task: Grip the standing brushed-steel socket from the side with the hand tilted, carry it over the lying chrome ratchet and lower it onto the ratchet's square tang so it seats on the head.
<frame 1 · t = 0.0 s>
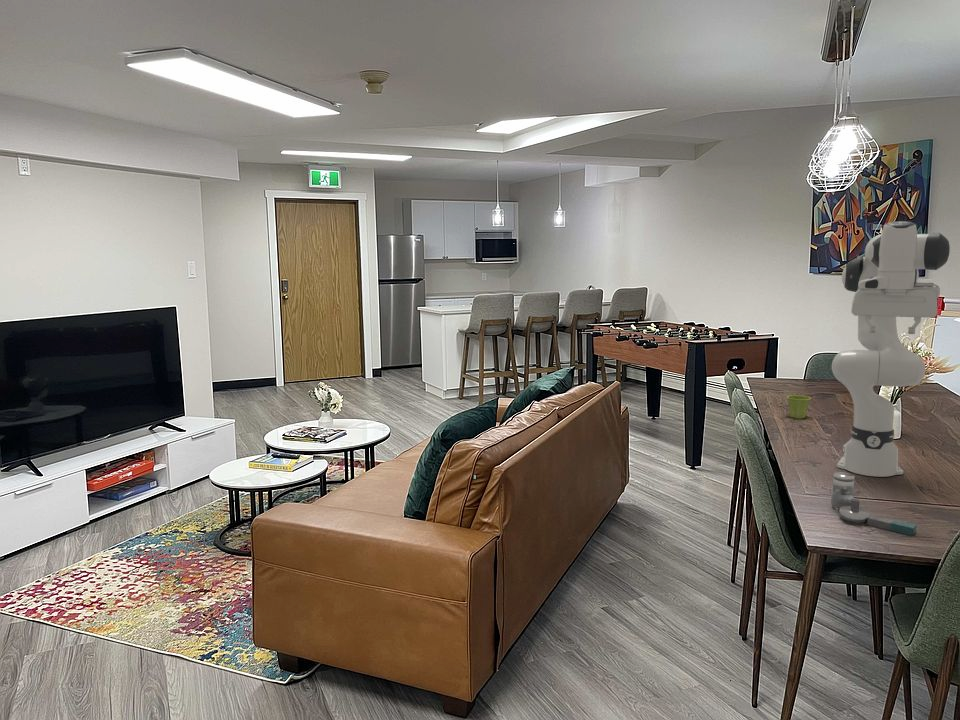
hand: (891, 333, 195), 48 cm above the table, tool pointing down, fingers open, 8 cm apart
ratchet: (854, 519, 189), on the table
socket: (841, 506, 199), on the table
plant pot: (797, 417, 303), on the table
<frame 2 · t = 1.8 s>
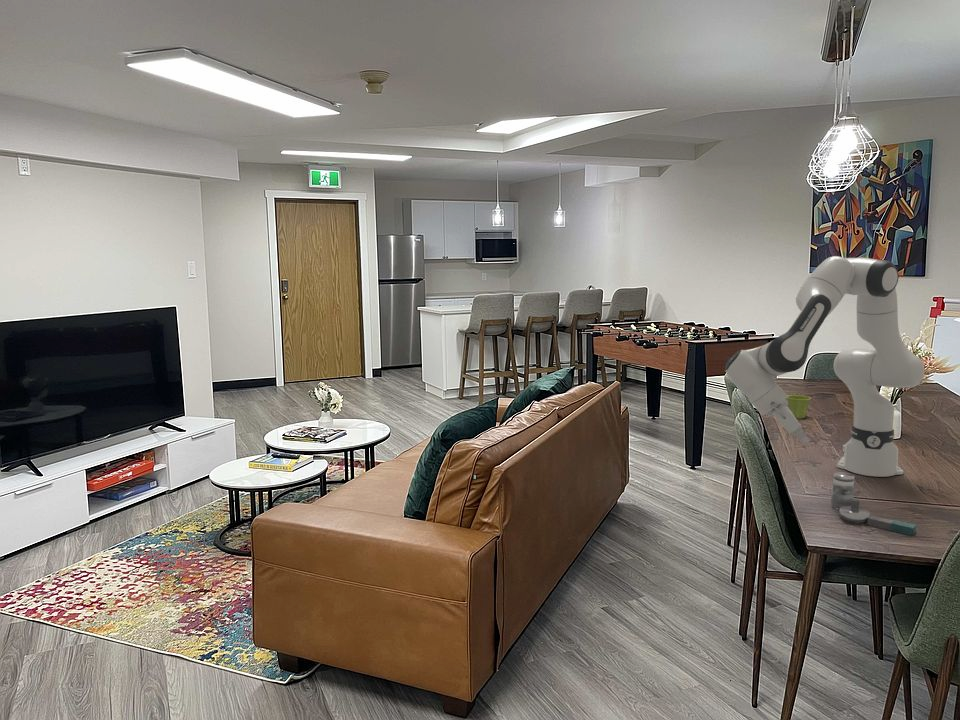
hand: (805, 438, 199), 19 cm above the table, tool tilted 45°, fingers open, 8 cm apart
nothing on the table moved.
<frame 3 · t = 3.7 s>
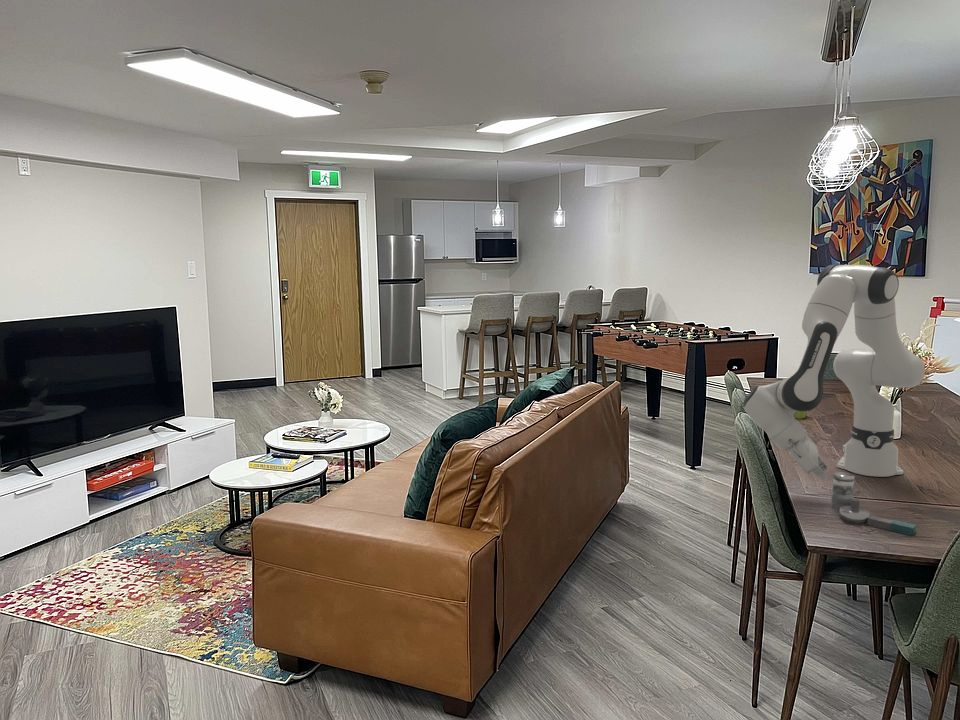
hand: (825, 473, 199), 9 cm above the table, tool tilted 45°, fingers open, 8 cm apart
nothing on the table moved.
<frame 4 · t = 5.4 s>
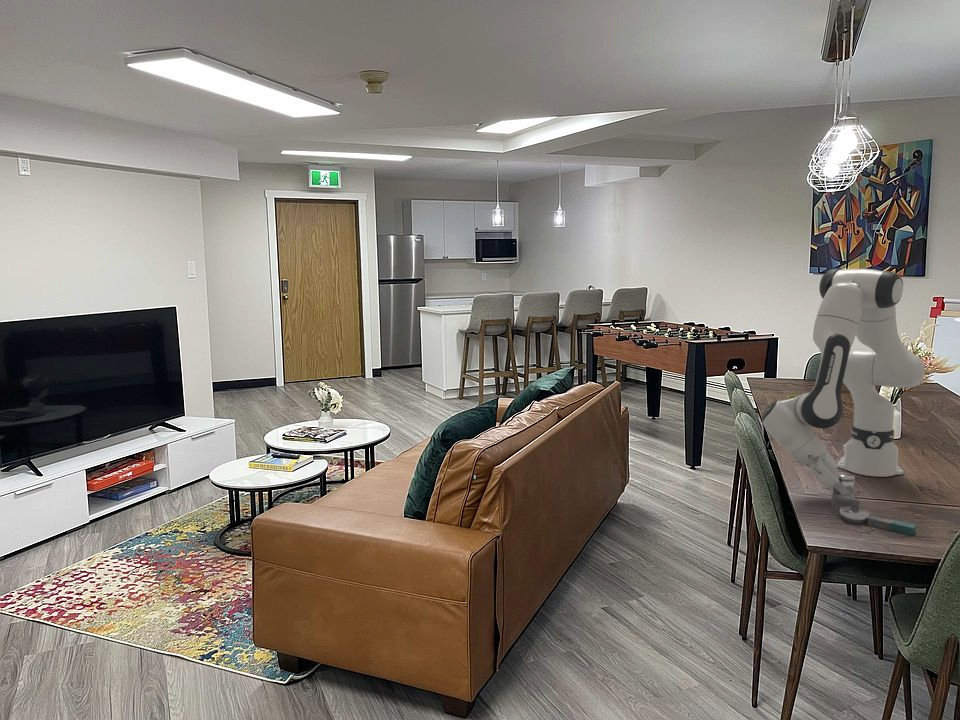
hand: (845, 489, 198), 5 cm above the table, tool tilted 45°, fingers closed on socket, 5 cm apart
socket: (841, 506, 199), on the table, touching gripper
everything else where it was.
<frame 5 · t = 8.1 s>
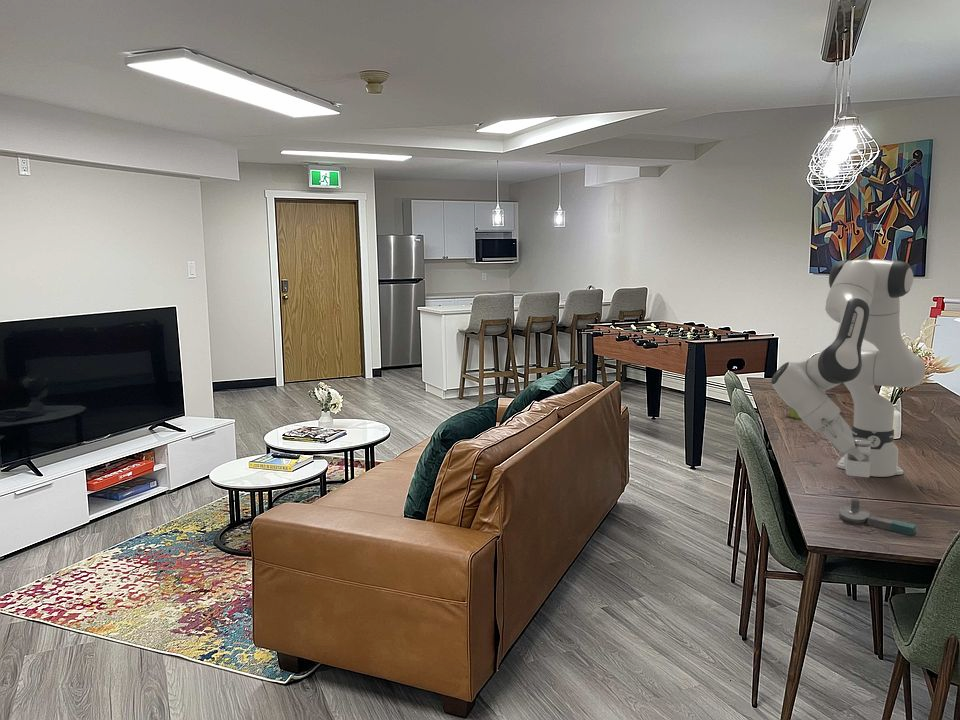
hand: (861, 455, 186), 18 cm above the table, tool tilted 45°, fingers closed on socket, 5 cm apart
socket: (857, 473, 187), point 13 cm above the table, touching gripper
everything else where it was.
when the fingers open (8 cm above the table, at t = 11.2 s): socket stays where it is, resting on ratchet.
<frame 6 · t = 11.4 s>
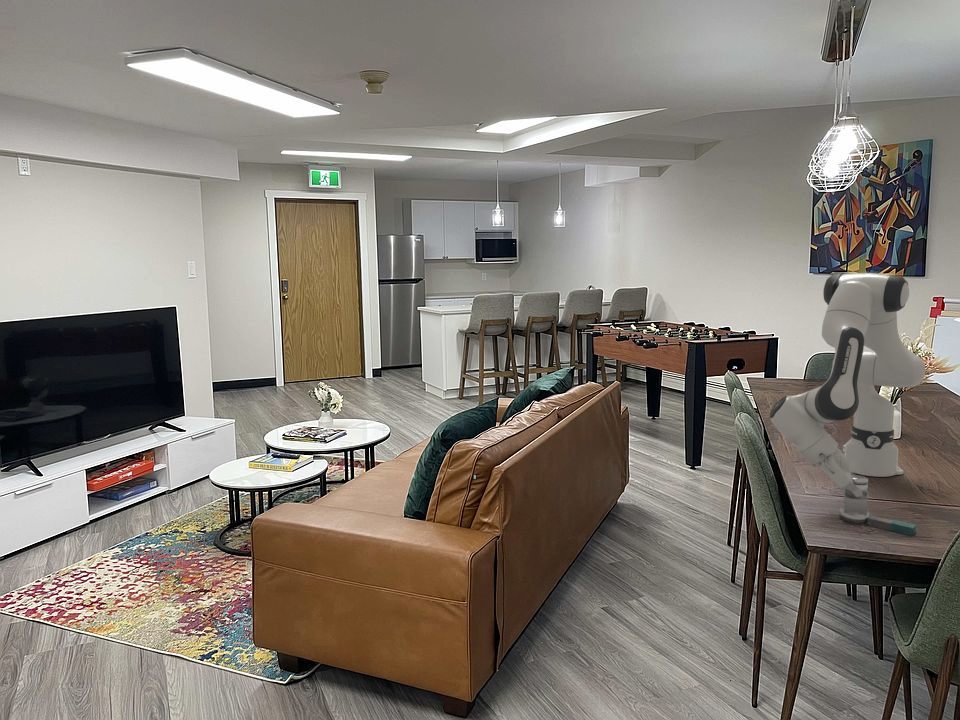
hand: (859, 489, 187), 8 cm above the table, tool tilted 45°, fingers open, 7 cm apart
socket: (854, 510, 188), point 2 cm above the table, touching ratchet
everything else where it was.
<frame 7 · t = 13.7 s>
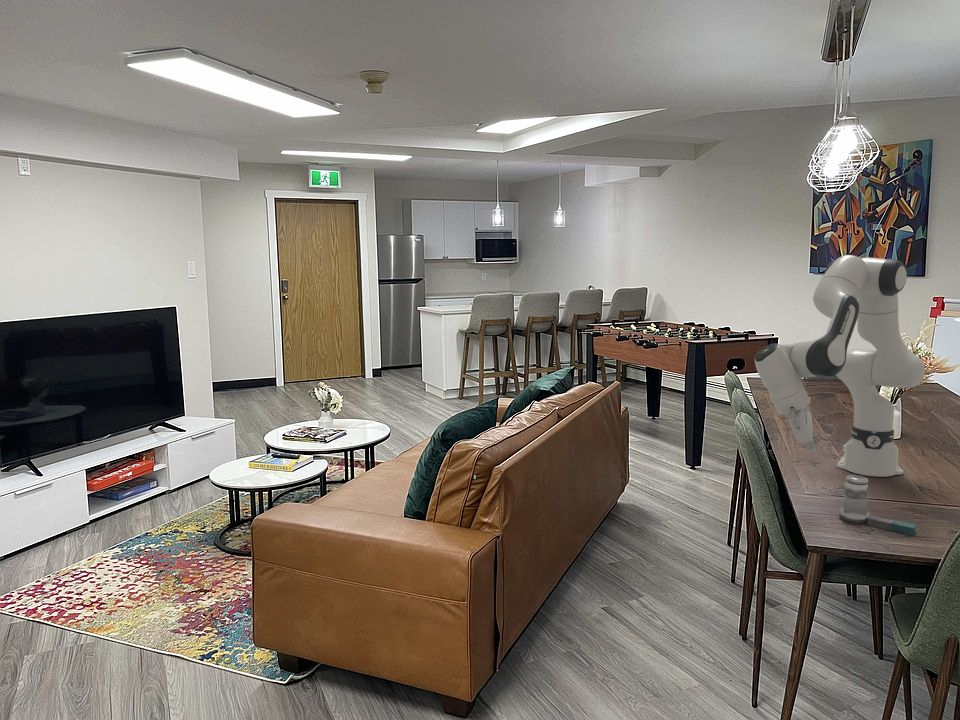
hand: (814, 446, 193), 18 cm above the table, tool tilted 30°, fingers open, 8 cm apart
nothing on the table moved.
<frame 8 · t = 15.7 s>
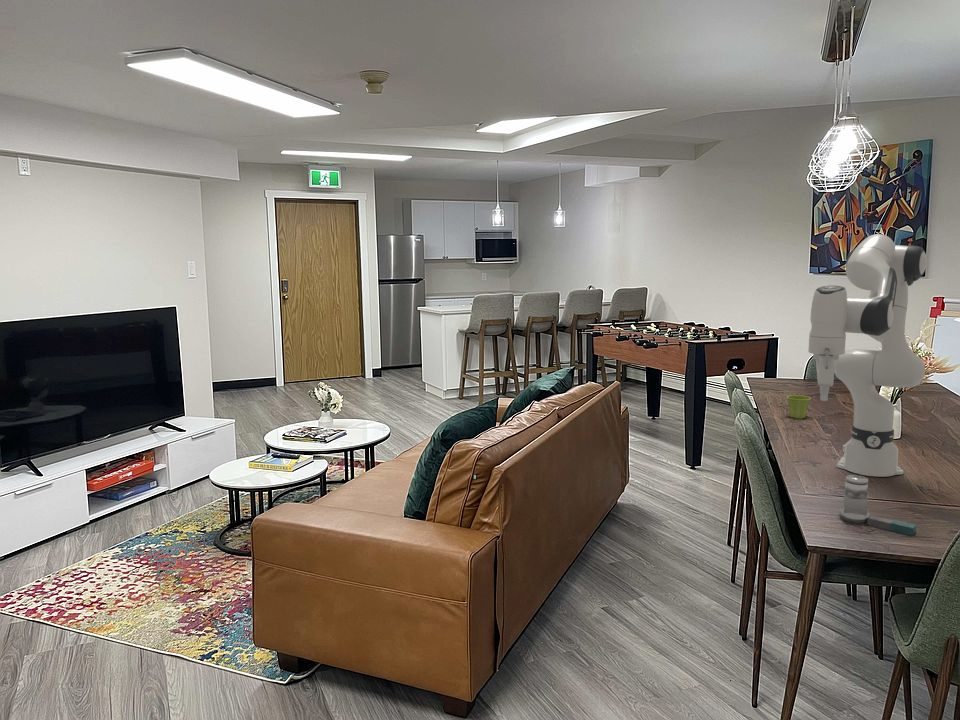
hand: (823, 397, 194), 31 cm above the table, tool pointing down, fingers open, 8 cm apart
nothing on the table moved.
at the end: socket 0.0 cm off-centre on the ratchet, point 2.5 cm above the ratchet's base; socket tilted 0°; the gripper is holding nothing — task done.
